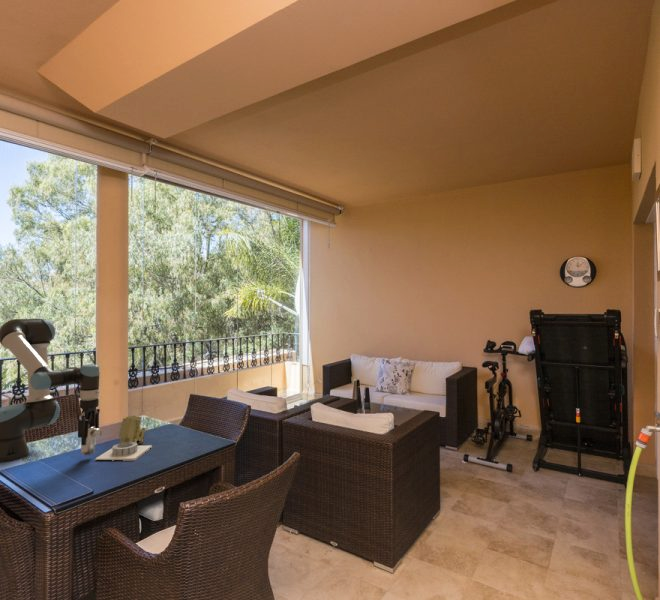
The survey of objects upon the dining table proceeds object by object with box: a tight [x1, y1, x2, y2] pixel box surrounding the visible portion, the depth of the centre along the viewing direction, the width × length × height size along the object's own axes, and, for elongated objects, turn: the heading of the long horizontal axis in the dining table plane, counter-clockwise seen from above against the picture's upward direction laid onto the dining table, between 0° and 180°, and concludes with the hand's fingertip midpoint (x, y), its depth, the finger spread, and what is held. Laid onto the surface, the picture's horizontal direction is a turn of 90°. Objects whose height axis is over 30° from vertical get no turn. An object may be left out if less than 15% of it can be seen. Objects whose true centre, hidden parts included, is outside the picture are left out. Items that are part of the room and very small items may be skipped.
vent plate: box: [94, 442, 153, 462], centre depth 195 cm, size 18×18×4 cm
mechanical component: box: [118, 415, 147, 444], centre depth 210 cm, size 8×17×20 cm, turn 175°
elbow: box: [81, 426, 103, 456], centre depth 189 cm, size 8×5×12 cm, turn 90°
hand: (88, 449), depth 189 cm, fingers closed on elbow, 5 cm apart
